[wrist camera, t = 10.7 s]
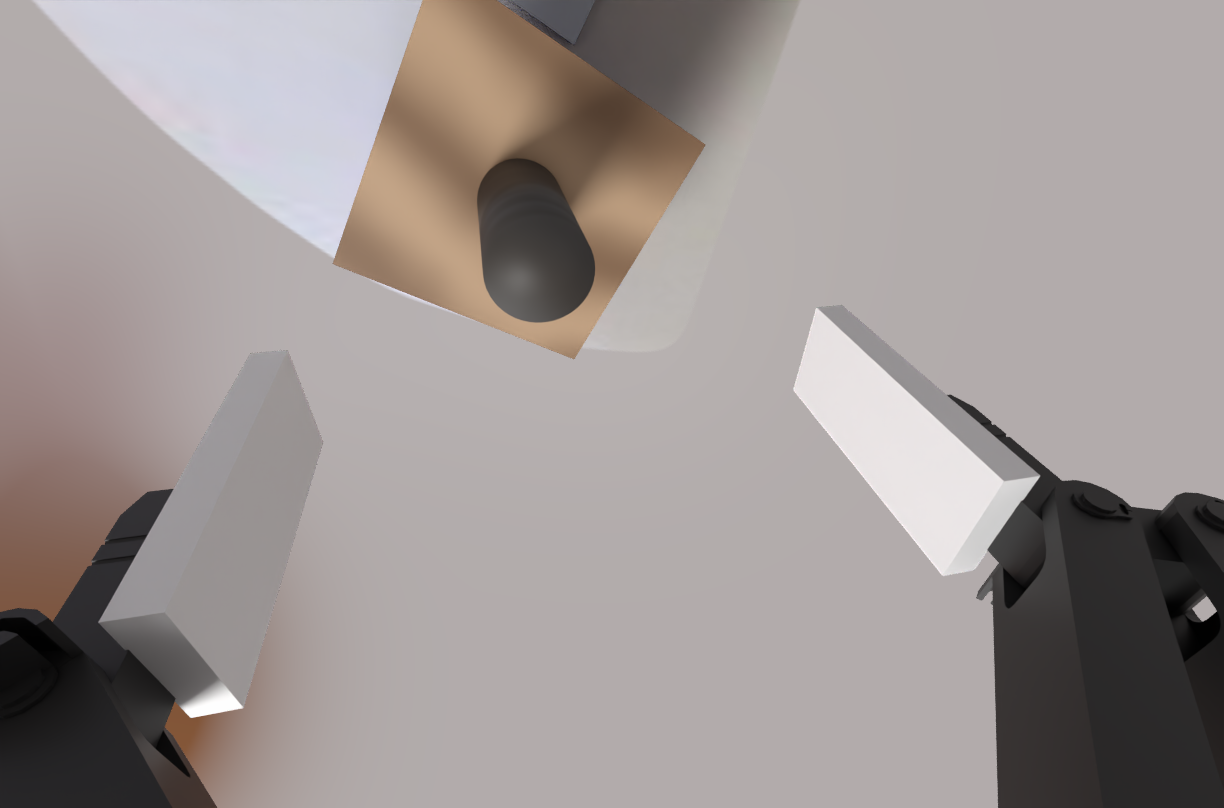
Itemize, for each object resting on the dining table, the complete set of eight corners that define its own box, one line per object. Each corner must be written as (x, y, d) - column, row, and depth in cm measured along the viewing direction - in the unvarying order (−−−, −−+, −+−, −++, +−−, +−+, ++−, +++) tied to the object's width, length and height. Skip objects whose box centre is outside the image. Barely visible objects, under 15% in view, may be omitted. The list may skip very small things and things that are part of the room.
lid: (437, -40, 21) (426, -54, 14) (697, 139, 27) (782, 194, 20) (337, 254, 27) (292, 352, 19) (570, 348, 33) (602, 450, 25)
